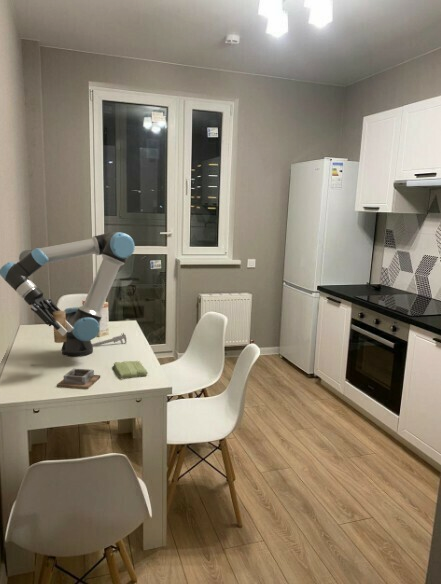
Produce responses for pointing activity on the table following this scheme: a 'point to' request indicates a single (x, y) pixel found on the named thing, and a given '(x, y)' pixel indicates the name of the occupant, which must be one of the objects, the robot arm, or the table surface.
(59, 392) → the table surface
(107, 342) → the caliper
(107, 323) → the coffeecake box
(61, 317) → the oak pin
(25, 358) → the table surface
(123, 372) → the washcloth
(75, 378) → the socket board
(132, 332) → the table surface
